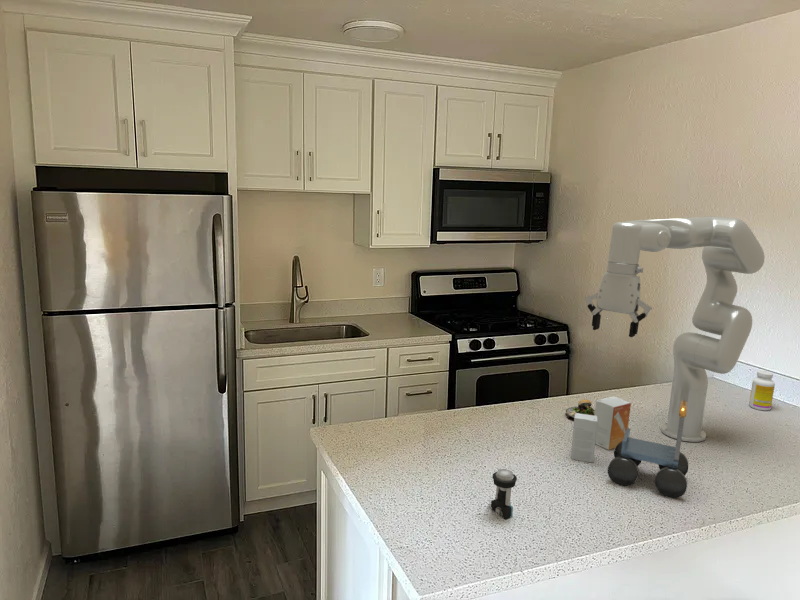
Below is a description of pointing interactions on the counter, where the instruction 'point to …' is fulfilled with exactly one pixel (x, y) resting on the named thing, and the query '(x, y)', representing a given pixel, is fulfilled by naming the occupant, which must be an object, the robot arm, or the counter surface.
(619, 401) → the small box
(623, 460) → the trolley
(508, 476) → the push button
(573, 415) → the burger
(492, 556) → the counter surface
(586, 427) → the skincare box
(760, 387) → the supplement bottle
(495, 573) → the counter surface
